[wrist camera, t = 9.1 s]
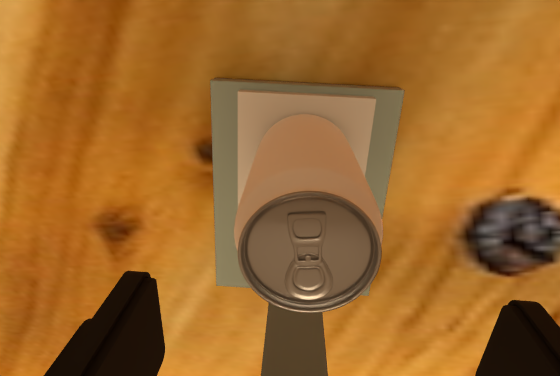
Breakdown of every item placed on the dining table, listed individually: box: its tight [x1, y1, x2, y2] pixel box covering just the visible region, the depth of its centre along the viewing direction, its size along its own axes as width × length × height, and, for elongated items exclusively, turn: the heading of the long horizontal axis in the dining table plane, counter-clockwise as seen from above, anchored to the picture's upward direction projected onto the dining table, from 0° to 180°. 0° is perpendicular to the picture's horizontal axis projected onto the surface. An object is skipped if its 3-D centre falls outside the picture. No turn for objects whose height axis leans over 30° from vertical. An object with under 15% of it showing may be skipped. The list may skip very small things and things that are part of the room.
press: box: [210, 78, 405, 376], centre depth 22 cm, size 17×13×16 cm
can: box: [234, 114, 383, 313], centre depth 20 cm, size 6×6×12 cm
